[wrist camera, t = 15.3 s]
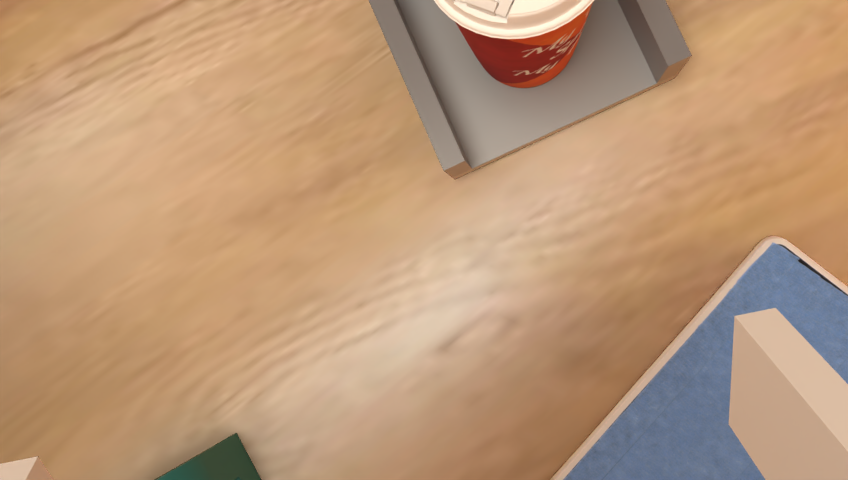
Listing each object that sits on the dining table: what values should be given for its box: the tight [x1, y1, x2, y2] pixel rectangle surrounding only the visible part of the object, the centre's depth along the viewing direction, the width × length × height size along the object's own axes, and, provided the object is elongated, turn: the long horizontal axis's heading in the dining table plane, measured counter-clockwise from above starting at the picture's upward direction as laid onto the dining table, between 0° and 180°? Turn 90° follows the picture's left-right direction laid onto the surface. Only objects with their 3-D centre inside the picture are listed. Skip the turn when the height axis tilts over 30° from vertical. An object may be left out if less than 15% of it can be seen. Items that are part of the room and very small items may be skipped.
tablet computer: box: [550, 236, 848, 480], centre depth 37 cm, size 19×13×1 cm, turn 140°
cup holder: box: [369, 0, 692, 179], centre depth 37 cm, size 12×13×4 cm
